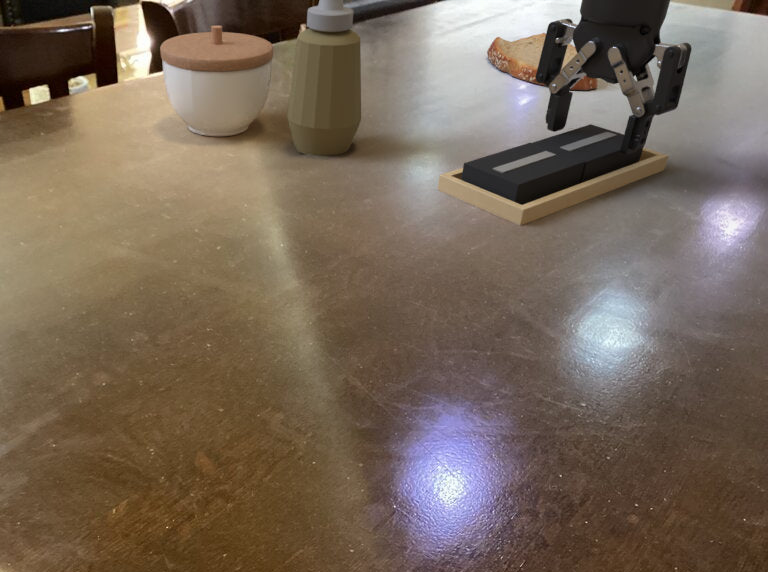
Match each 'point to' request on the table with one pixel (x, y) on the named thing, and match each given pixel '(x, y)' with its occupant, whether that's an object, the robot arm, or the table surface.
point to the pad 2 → (592, 150)
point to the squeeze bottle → (326, 82)
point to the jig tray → (554, 202)
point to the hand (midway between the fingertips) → (590, 140)
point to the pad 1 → (524, 173)
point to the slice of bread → (529, 59)
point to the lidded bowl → (217, 79)
